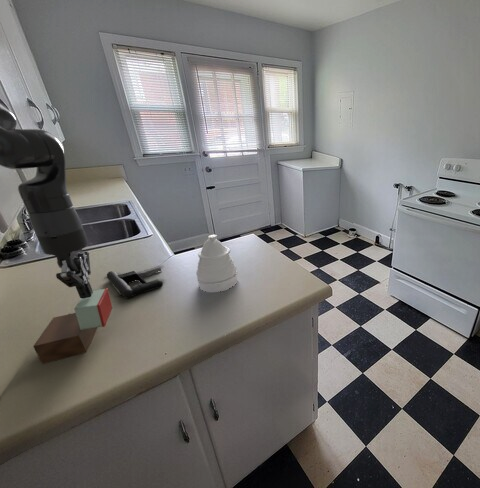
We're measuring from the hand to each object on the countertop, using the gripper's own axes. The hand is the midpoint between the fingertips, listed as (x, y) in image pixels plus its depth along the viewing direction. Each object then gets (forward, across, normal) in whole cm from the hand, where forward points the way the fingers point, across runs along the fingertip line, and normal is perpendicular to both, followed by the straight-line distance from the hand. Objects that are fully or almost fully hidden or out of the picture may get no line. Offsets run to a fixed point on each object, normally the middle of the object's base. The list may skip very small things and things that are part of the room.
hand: (87, 296), depth 65 cm
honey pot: (+12, -15, +30) cm, 36 cm away
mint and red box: (+3, 0, -2) cm, 4 cm away
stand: (+12, 0, -6) cm, 13 cm away
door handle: (+12, -27, +5) cm, 30 cm away
